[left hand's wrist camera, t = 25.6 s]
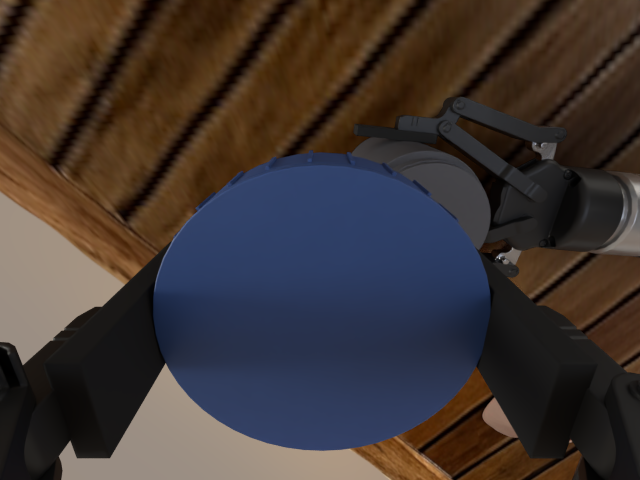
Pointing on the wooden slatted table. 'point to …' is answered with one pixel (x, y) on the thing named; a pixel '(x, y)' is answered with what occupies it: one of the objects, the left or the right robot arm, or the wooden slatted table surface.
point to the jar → (436, 180)
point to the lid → (321, 303)
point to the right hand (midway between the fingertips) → (348, 186)
